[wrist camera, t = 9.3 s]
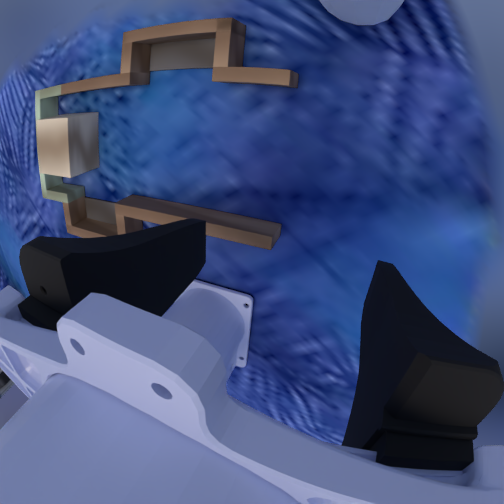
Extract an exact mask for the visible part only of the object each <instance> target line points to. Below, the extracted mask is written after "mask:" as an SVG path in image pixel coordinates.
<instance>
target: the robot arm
mask: <svg viewBox="0 0 504 504" xmlns="http://www.w3.org/2000/svg"><path fill="white" fill-rule="evenodd" d="M19 258H20V265H21V269H22V273H23V276H24V279H25V282H26V285H27V288H28V291H29V294H30V296H29V297H27V298H26V299H25V298H24V297H23V295H22V294H21V293H19V292H18V291H16V290H15V289H14V288H12V287H11V286H7V287H5V288H4V289H3V290H1V291H0V368H1V369H2V370H3V371H4V373H5V374H6V375H7V376H8V377H9V378H10V379H11V380H12V381H13V382H14V383H15V384H16V385H17V386H18V387H19V388H20V390H22V392H23V393H24V394H25V395H26V396H27V397H28V398H29V400H28V401H27V402H26V403H25V404H24V405H23V406H22V407H21V408H20V409H19V410H18V411H17V412H16V413H15V414H14V416H13V417H12V418H11V419H10V420H9V421H8V422H7V423H6V424H5V425H4V426H3V427H2V428H1V430H0V504H504V445H492V446H491V445H490V446H486V445H485V446H480V447H477V448H475V449H473V440H474V439H475V438H477V435H478V432H477V425H478V424H479V423H480V422H481V421H482V420H483V419H484V418H485V417H486V416H487V414H488V413H489V412H490V411H491V410H492V409H493V408H494V407H495V405H496V404H497V403H498V401H499V400H500V398H501V396H502V393H503V391H504V382H503V378H502V374H501V371H500V367H499V364H498V361H497V360H495V359H493V358H491V357H490V356H488V355H486V354H484V353H482V352H481V351H479V350H477V349H475V348H474V347H472V346H471V345H469V344H468V343H466V342H465V341H464V340H462V339H461V338H459V337H458V336H457V335H455V334H454V333H453V332H452V331H451V330H449V329H448V328H447V327H446V326H445V325H444V324H442V323H441V322H440V321H439V320H438V319H437V318H436V317H435V316H434V315H433V314H432V313H431V312H430V311H429V310H428V309H427V308H426V306H425V305H424V304H423V303H422V302H421V301H420V299H419V298H418V297H417V296H416V294H415V293H414V292H413V291H412V289H411V288H410V287H409V285H408V284H407V283H406V281H405V280H404V278H403V277H402V276H401V274H400V273H399V271H398V270H397V269H396V267H395V266H394V265H393V264H391V263H387V262H383V261H379V260H378V262H377V265H376V268H375V271H374V275H373V278H372V281H371V284H370V287H369V290H368V293H367V296H366V299H365V302H364V307H363V314H362V320H361V341H360V364H359V375H358V381H357V386H356V391H355V396H354V401H353V405H352V410H351V414H350V418H349V422H348V425H347V429H346V433H345V436H344V440H343V443H342V446H341V445H336V444H332V443H327V442H323V441H320V440H318V439H316V438H313V437H311V436H309V435H307V434H304V433H302V432H300V431H298V430H296V429H294V428H291V427H289V426H287V425H285V424H283V423H281V422H279V421H277V420H275V419H273V418H271V417H269V416H267V415H265V414H263V413H261V412H259V411H257V410H255V409H254V408H252V407H250V406H248V405H246V404H244V403H242V402H241V401H239V400H237V399H235V398H233V397H232V396H230V395H228V394H227V390H226V382H227V380H228V379H229V377H230V375H231V373H232V371H233V369H234V368H235V366H239V367H242V368H243V367H245V366H246V364H247V356H248V347H249V337H250V328H251V318H252V309H253V298H252V296H250V295H248V294H244V293H241V292H237V291H234V290H230V289H227V288H223V287H220V286H216V285H213V284H209V283H206V282H202V281H199V280H196V279H195V278H196V277H197V275H198V274H199V272H200V271H201V269H202V267H203V266H204V264H205V263H206V221H204V220H200V219H195V218H190V219H184V220H179V221H175V222H171V223H167V224H163V225H160V226H156V227H152V228H148V229H144V230H140V231H135V232H131V233H126V234H120V235H113V236H105V237H93V238H56V237H44V236H40V237H37V238H35V239H33V240H32V241H30V242H28V243H27V244H25V245H23V246H22V248H21V249H20V256H19ZM173 303H174V304H173ZM245 303H246V304H248V305H249V306H247V305H246V304H245ZM172 304H173V305H172ZM171 305H172V306H171ZM170 306H171V307H170ZM169 307H170V308H169ZM168 308H169V310H168ZM167 310H168V311H167ZM166 311H167V312H166ZM165 312H166V313H165ZM164 313H165V314H164ZM163 314H164V315H163Z"/></svg>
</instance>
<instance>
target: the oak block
mask: <svg viewBox="0 0 504 504" xmlns="http://www.w3.org/2000/svg"><path fill="white" fill-rule="evenodd" d="M37 143H38V157H39V168H40V173H42V174H49V175H55V176H62V177H68V178H72V177H74V176H77V175H80V174H82V173H85V172H87V171H90V170H93V169H96V168H98V167H99V145H98V112H89V113H73V114H63V115H58V116H53V117H48V118H44V119H40V120H37Z"/></svg>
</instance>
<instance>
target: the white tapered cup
mask: <svg viewBox="0 0 504 504" xmlns="http://www.w3.org/2000/svg"><path fill="white" fill-rule="evenodd" d="M319 1H320V2H321V3H322V5H323V6H324V7H325V8H326V10H327V11H328V12H330V13H331V14H333V15H334V16H335V17H337V18H338V19H340V20H342V21H345V22H348V23H352V24H355V25H375V24H378V23H381V22H383V21H386V20H388V19H389V18H390V17H391V16H392V15H393V14H394V13H395V12H396V11H397V10H398V8H399V7H400V6H401V4H402V3H403V2H404V0H319Z"/></svg>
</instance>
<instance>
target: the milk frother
mask: <svg viewBox="0 0 504 504" xmlns="http://www.w3.org/2000/svg"><path fill="white" fill-rule="evenodd" d="M14 384H15V383H14V382H13V381H12V380H11V379H10V378H9V377H8V376H7V375H6V374H5V373H4V371H3V370H2V369H1V368H0V398H1V397H2V396H3V395H4V394H5V392H7V391H8V390H9V389H10V388H11V387H12V386H13V385H14Z"/></svg>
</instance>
